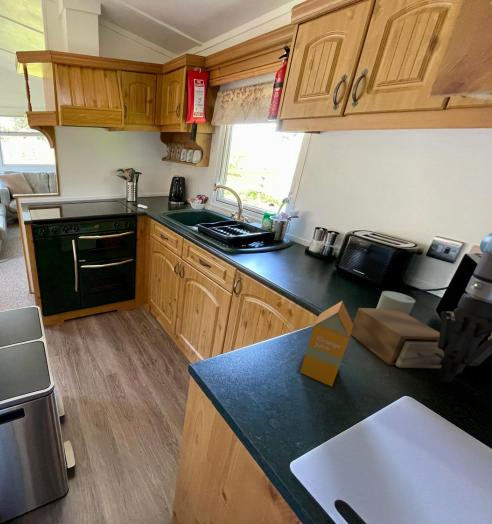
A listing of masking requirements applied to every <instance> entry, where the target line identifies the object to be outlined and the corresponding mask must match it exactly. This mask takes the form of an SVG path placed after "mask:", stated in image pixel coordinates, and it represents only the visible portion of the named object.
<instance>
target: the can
mask: <svg viewBox="0 0 492 524" xmlns="http://www.w3.org/2000/svg"><path fill="white" fill-rule="evenodd" d="M415 304H416V299H414V298H413V297H411V296H409V295H407V294H404V293H400V292H396V291H393V290H392V291H391V290H384V291H381V295H380V297H379V300H378V303H377V306H376V307H375V309H399V310H400V311H402V312H404V313H406V314H407V315H409V316H410V315H411V312H412V310H413V308H414V305H415Z"/></svg>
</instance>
